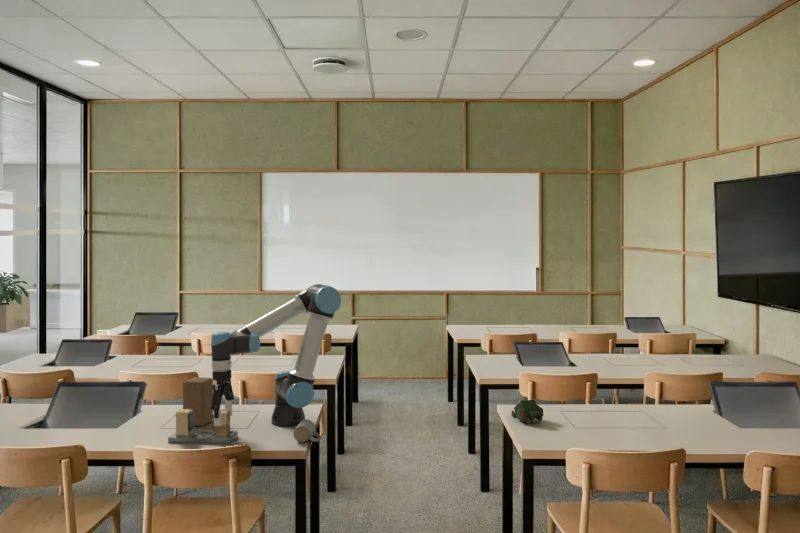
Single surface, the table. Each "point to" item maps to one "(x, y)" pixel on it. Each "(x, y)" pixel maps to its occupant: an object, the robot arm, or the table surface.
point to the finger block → (223, 425)
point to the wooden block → (199, 399)
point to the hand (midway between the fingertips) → (223, 420)
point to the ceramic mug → (306, 432)
